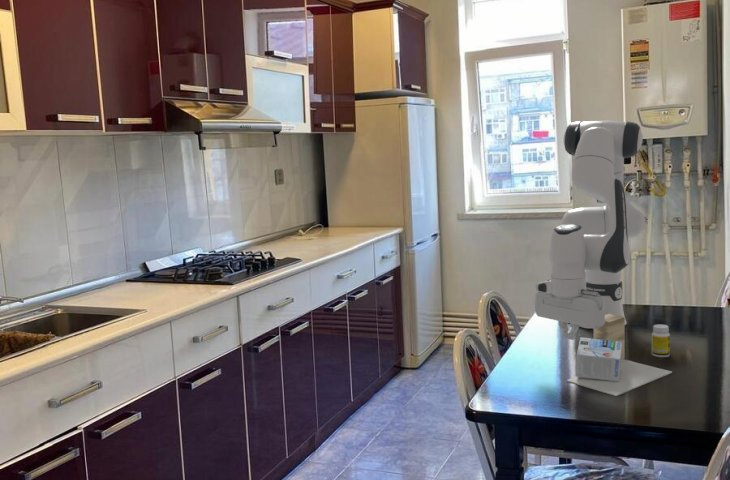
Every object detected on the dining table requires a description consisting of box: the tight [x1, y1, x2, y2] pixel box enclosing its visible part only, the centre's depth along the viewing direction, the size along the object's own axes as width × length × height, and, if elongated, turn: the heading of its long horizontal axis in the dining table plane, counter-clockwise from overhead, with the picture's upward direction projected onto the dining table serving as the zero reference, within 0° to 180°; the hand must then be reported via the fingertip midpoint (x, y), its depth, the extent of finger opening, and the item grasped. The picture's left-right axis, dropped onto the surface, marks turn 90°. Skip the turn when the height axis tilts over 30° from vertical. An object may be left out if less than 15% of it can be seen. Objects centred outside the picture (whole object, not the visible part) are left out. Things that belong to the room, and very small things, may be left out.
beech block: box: [593, 314, 626, 360], centre depth 189 cm, size 5×7×12 cm
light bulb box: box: [575, 336, 622, 382], centre depth 177 cm, size 11×7×11 cm
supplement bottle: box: [651, 323, 671, 358], centre depth 190 cm, size 5×5×8 cm
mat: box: [566, 359, 673, 397], centre depth 176 cm, size 14×24×1 cm, turn 125°
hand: (569, 338), depth 179 cm, fingers closed
